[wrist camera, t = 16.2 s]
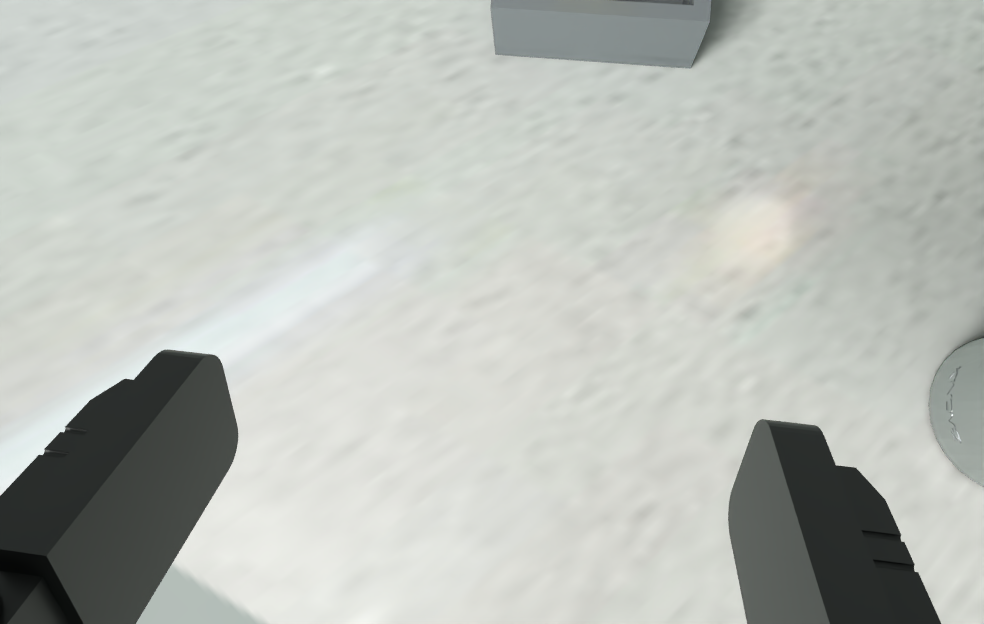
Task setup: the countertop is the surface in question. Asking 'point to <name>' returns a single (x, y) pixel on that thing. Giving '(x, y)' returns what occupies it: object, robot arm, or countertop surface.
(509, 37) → the gray tray
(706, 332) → the countertop surface
